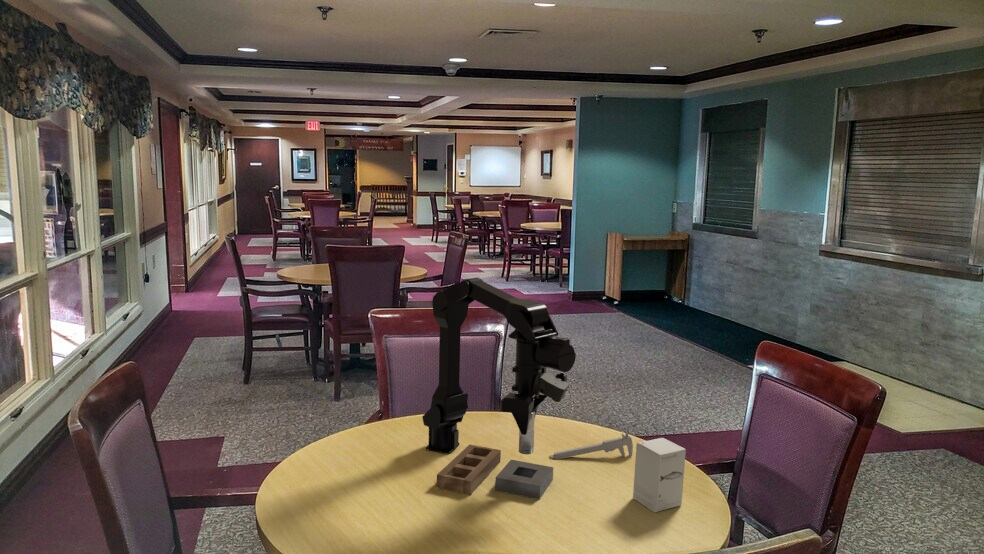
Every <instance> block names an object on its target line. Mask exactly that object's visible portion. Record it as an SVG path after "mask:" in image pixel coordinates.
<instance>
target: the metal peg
mask: <svg viewBox="0 0 984 554" xmlns="http://www.w3.org/2000/svg"><path fill="white" fill-rule="evenodd" d="M535 419H536V416H535V411H533V412H531V415H530V420H529V425H528V430H527V434H526V435H523V434H521V432H520V430H519V429H518V431H519V433H518V453H519V454H521V455H531V454H533V453H534V449H535V448H534V445H535V442H534V441H535V439H534V438H535Z"/></svg>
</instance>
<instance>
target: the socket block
mask: <svg viewBox="0 0 984 554" xmlns="http://www.w3.org/2000/svg"><path fill="white" fill-rule="evenodd" d="M494 479H495V483H494V484H495V485H494V487H495V488H494V490H495V491H497V492H501V493H505V494H506V493H507V494H510V495H516V496H521V497H525V498H530V499H534V500H541V498H542V497H543V495H544V493H546V491H547V490H548V487H550V485H551V483H553V480H554V466H548V465H544V464H538V463H532V462H528V461H527V462H526V461H522V460H515V459H510V460H509V461H508V462H507V464H506V465H505V466H504V467H503V468H502V469H501V470H500V471H499V472H498V474H497V475H496V476H495V478H494Z"/></svg>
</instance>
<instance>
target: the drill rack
mask: <svg viewBox="0 0 984 554" xmlns="http://www.w3.org/2000/svg"><path fill="white" fill-rule="evenodd" d="M501 452H502V451H501V449H498V448H492V447H485V446H481V445H475V444H471V443H470V444H468V445H467V446H466V447H465V448H463V450H462V451H460V452H459V453H458V455H456V456H455V457H454V458H453V459H452V460H451V461H450V462H449V463H447V464H446V465H445V466H443V467H444V468H442V469H441V470H440V471H439V472H438V473H437V474H436V489H441V490H447V491H450V492H456V493H461V494H465V495H469V496H471V495H472V494H473V493H474V492H475V491H476V490H477V489H478V487H480V485H482V484H483V482H484V481H485V480H486V479H487V478H488V476H489V475H490V474H491V473H492V472H493V471H494V470H495V469H496V467H497V466H498V465H500V463H501V455H502V454H501Z"/></svg>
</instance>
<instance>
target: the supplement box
mask: <svg viewBox="0 0 984 554" xmlns="http://www.w3.org/2000/svg"><path fill="white" fill-rule="evenodd" d="M635 449H636V450H635V464H634V474H633V475H634V477H633V489H632V490H633V491H632V498H633V500H635V501H637V502H638V503H640V504H641V505H643V506H644V507H645V508H647V509H648V510H650V511H651V512H653V513H655V514H656V513H658V512H662V511H665V510H669V509H672V508H676V507H680V506H682V504H683V493H684V475H685V465H686V454H687V449H686V448H685V447H682V446H681V445H679V444H676V443H674V442H672V441H671V440H668V439H666V438H664V437H658V438H654V439H650V440H644V441H639V442H636V448H635Z"/></svg>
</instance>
